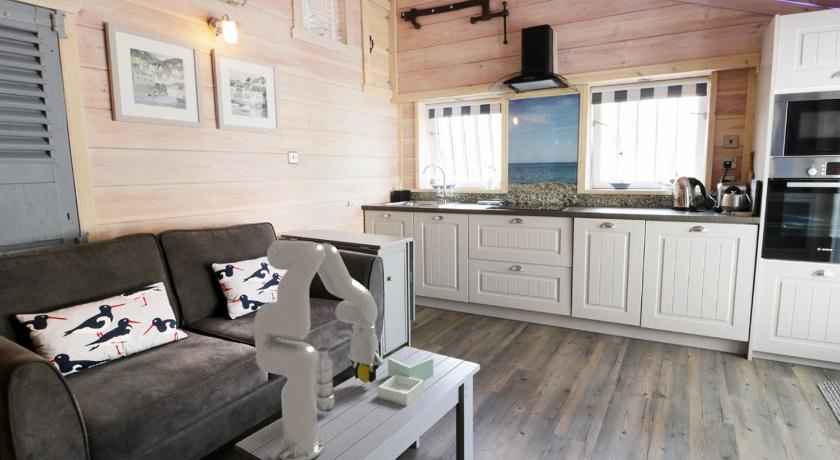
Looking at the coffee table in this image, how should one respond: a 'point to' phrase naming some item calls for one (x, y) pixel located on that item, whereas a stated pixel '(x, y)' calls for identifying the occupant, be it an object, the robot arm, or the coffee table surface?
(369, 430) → the coffee table surface
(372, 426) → the coffee table surface
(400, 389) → the bin
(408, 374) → the l-shaped corner panel
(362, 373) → the lemon
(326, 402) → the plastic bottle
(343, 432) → the coffee table surface
